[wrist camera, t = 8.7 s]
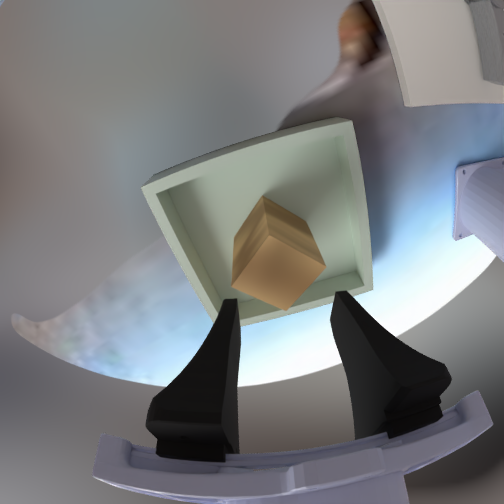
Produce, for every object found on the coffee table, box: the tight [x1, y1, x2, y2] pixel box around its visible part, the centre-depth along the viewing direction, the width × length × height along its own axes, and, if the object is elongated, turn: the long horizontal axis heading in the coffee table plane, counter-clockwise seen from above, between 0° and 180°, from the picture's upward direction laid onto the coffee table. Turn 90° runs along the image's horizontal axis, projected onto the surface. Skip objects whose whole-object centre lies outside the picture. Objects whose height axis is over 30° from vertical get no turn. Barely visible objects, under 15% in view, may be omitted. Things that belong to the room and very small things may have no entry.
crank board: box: [372, 0, 504, 107], centre depth 10 cm, size 16×16×1 cm
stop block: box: [231, 195, 326, 311], centre depth 18 cm, size 4×4×6 cm
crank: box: [464, 0, 504, 86], centre depth 7 cm, size 13×4×5 cm, turn 8°
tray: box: [141, 117, 373, 327], centre depth 20 cm, size 14×14×3 cm
